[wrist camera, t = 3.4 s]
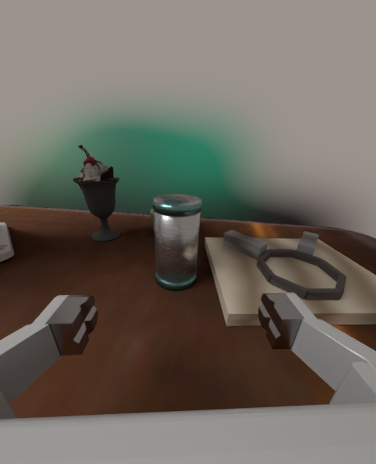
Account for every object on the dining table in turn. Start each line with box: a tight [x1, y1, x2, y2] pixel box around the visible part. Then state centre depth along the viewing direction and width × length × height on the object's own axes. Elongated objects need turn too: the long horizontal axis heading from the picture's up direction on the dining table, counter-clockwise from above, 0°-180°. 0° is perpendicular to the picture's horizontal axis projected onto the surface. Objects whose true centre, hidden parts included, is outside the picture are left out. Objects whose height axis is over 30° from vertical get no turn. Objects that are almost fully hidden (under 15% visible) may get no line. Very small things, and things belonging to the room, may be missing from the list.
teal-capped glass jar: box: [153, 194, 202, 291], centre depth 21 cm, size 5×5×10 cm
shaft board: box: [205, 230, 376, 326], centre depth 24 cm, size 20×16×4 cm
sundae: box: [73, 145, 121, 241], centre depth 31 cm, size 7×7×15 cm
